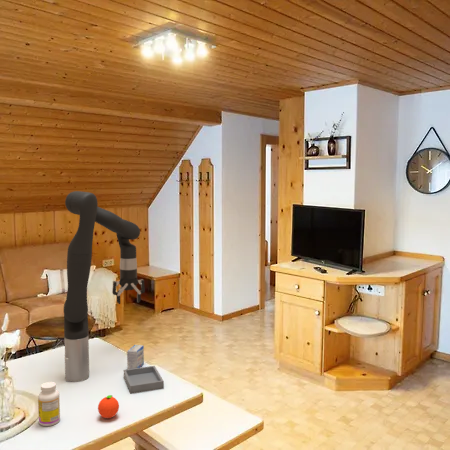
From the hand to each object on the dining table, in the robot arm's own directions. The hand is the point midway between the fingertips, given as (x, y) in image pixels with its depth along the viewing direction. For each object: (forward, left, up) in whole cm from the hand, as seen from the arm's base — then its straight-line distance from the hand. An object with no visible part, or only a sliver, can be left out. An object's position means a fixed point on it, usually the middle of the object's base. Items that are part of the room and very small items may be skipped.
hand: (128, 302), depth 214 cm
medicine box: (0, -16, -24) cm, 29 cm away
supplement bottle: (-35, -51, -24) cm, 66 cm away
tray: (0, -32, -24) cm, 40 cm away
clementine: (-16, -54, -24) cm, 61 cm away
